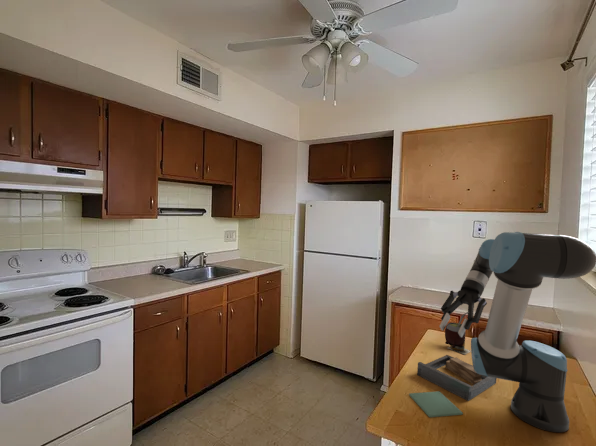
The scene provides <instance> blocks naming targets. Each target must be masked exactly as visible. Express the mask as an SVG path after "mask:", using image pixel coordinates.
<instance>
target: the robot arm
mask: <svg viewBox="0 0 596 446" xmlns="http://www.w3.org/2000/svg"><path fill="white" fill-rule="evenodd" d="M595 267H596V252H595V250H594V249H593V247H592V246H590V244H588V243H587V242H585V241H583V240H581V239H579V238H576V237H573V236H569V235H563V234H545V233H529V232H528V233H527V232H526V233H525V232H520V231H514V232H512V231H511V232H510V231H509V232H507V231H505V232H501V233H500V234H498V235H496V236H495V238H494V239H493V238H492V239H491V238H490V239H486V240H484V241H483V242H481V244H480V247H479V249H478V252H477V255H476V257H475V259H474V261H473V263H472V266H471V268H470V270H469V271H468V274H466V277H465V280H464V281H463V283H462V284H461V287H460V289H459V290H458V291H454V290H450V292H449V295H448V297H447V298H446V300H445V302H444V303H443V304H442V305H441V307H440V310H441V312H442V313H443V314H442V316H441V319H440V320H441V322H440V324H439V328H440V330H441V331H442V332H443V331H444V332H445V329H446V326H447V324H448V323H449V321H450V319H451V316H450V315H451V314H452V313H453V312H455V311H456V310H457V308H459V307H460V306H462V305H464V304H465V305H467V306H468V307H467V312H470V313H468V314H467V316H466V318H463V321H462V322H461V324H462V325H461V327H460V329H459V331H458V334H459V336H460V337H463V335H464V333H465V332H466V330H467V331H468V330H470V328H471V326H472V324H473V323H475V324H479V323H480V320H481V316H482V314H483V311H484V308H485V306H486V305H487V304H488V303H487V300H486V298H482V296H483V292H484V290H485V288H486V287H487V284H488V282H489V280H490V278H491V276H492V274H493V276H494V277H495V278H496V280H497V282H496V285H495V290H494V294H493V298H492V301H491V302H492V303H491V306H490V310H489V313H488V314H489V315H488V319H487V323H486V327H485V330H482V331H481V332H480V334H479V335H478V337H472V338H471V340H470V351H471V352H470V353H471V362H472V365H473V368H474V370H475V372H476V373H478V374H480V375H484V376H487V377H493V378H497V379H499V380H505V381H509V382H510V381H511V382H516V383H519V384H518V387H517V390H515V393H514V395H513V397H512V398H511V401H510V409H511V412H513V414H514V415H515V416H516V417H518V419H520V420H521V421H523V422H525V423H527V424H529V425H531V426H532V427H535V428H537V429H541V430H543V431H547V432H552V433H564V432H567V431H568V430H569V429H570V428H569V427H570V418H569V415H568V413H567V408H566V404H565V391H566V382H567V381H566V380H567V373H568V359H567V357H566V355H565V354H564V353H562V352H561V351H560V350H558V349H556V348H555V347H552V346H550V345H548V344H544V343H541V342H539V341H534V340H523V341H522V343H521V345H520V344H519V343H518V337H519V334H520V330H521V327H522V325H523V320H524V317H525V314H526V311H527V308H528V304H529V302H530V298H531V294H532V291H533V290H534V289H537V288H538V287H540V286H541V284H542V282H543V279H544V278H549V279H563V280H564V279H566V280H567V279H576V278H580V277H583V276H586V275H588V274H589V273H590V272H591V271H592V270H593V269H594V268H595ZM476 303H478V304H477V306H476V309H475V304H476ZM474 309H475V312H474Z"/></svg>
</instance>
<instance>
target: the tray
mask: <svg viewBox="0 0 596 446" xmlns="http://www.w3.org/2000/svg"><path fill="white" fill-rule="evenodd" d="M450 358H455V357H453V356H450V355H449V354H446V355H443V356H441V357H438V358H436V359H434V360H432V361H430V362H427V363H424V362H421V361H419V362H417V373H416V374H417V376H419V377H420V378H422V379H424V380H427V382H430V383H432V384H434V385H436V386H438V387H440V388H441V389H444V390H446V391H448V392H450V393H452V394H453V395H456V396H458V397H460V398H461V399H463V400H465V401H467V402H469V401H471V400H472V399H474V398H475V397H477V396H479V395H480V394H482V393H484V392H485V391H486V390H488V389H489V388H491V387H492V386H494V385H495V384H497V379H498V378H493V377H487V376H484V375H482V376H481V379H482V380H481V381H480V382H478V383H477V384H475V385H474V384H468V383H467V382H464V381H462V380H460V379H458V378H455V377H453V376H451V375H449V374H448V373H446V372H443V371H441V370H439V368H442V367H444V366H446V361H449V360H450ZM466 363H467V362H466ZM467 364H469V365H471V366H473V364H471V363H467Z"/></svg>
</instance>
